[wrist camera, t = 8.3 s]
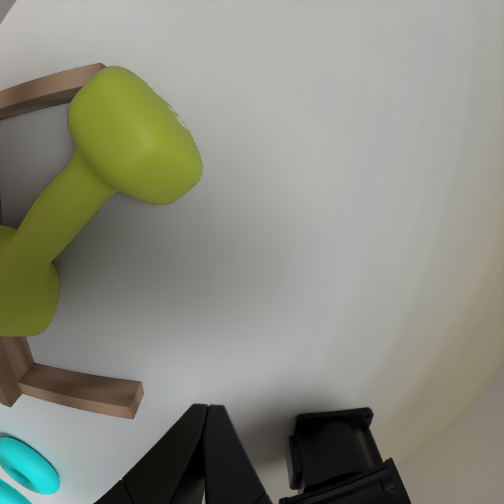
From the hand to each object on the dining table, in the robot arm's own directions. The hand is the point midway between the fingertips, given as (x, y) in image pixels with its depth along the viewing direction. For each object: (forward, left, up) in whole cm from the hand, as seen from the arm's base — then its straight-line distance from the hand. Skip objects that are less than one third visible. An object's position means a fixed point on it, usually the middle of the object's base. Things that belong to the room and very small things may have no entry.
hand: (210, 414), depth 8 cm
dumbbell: (+9, -4, -12) cm, 16 cm away
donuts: (+27, +27, -12) cm, 40 cm away
